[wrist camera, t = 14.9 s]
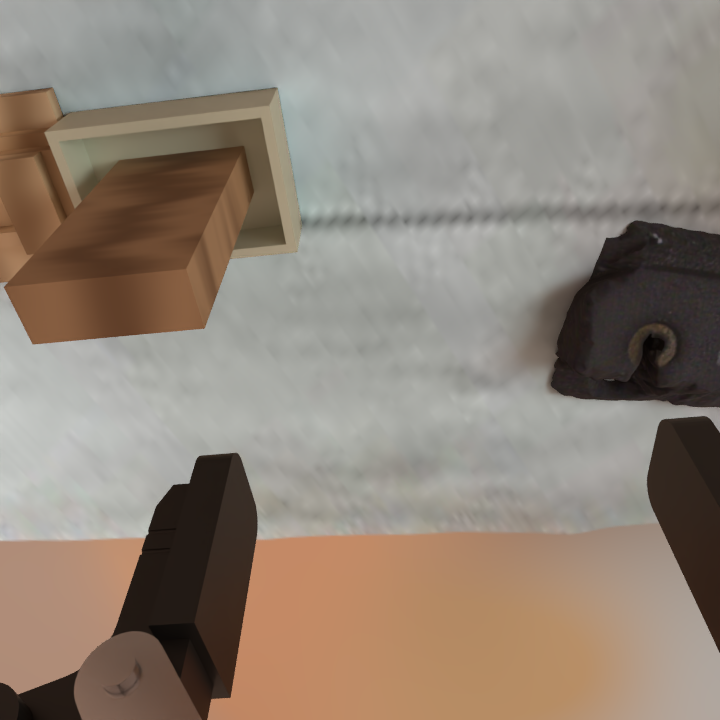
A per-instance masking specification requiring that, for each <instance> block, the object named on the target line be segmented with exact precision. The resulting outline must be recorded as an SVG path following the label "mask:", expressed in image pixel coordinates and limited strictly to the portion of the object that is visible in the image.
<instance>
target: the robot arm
mask: <svg viewBox="0 0 720 720" xmlns="http://www.w3.org/2000/svg"><path fill="white" fill-rule="evenodd" d="M647 488H648V495H649V499H650V503H651V506H652V508H653V511H654V513H655V515H656V517H657V519H658V521H659V524H660V526H661V528H662V530H663V532H664V534H665V536H666V539H667V541H668V543H669V545H670V547H671V549H672V551H673V553H674V556H675V558H676V560H677V562H678V564H679V566H680V569H681V571H682V573H683V575H684V577H685V579H686V581H687V584H688V586H689V588H690V590H691V592H692V594H693V596H694V598H695V601H696V603H697V605H698V607H699V609H700V611H701V614H702V616H703V618H704V620H705V622H706V624H707V626H708V629H709V631H710V633H711V635H712V637H713V639H714V641H715V644H716V646H717V648H718V650H719V652H720V433H719V431H718V430H717V428H716V427H715V425H714V424H713V422H712V421H711V420H710V419H709V418H708V417H705V416H700V417H687V418H675V419H664V420H662V421H661V422H660V423H659V426H658V429H657V434H656V439H655V443H654V448H653V452H652V457H651V462H650V466H649V471H648V476H647ZM148 531H149V534H148V535H147V536H146V539H145V542H144V545H143V548H142V555H140V557H139V560H138V563H137V566H136V569H135V572H134V575H133V578H132V581H131V584H130V587H129V590H128V593H127V596H126V599H125V602H124V605H123V608H122V611H121V614H120V617H119V620H118V623H117V626H116V628H115V630H114V633H113V635H112V637H111V638H110V639H108V640H106V641H105V642H103V643H102V644H101V645H99V646H98V647H97V648H96V649H95V650H94V651H93V652H92V653H91V654H90V655H89V656H88V657H87V659H86V660H85V661H84V663H83V664H82V666H81V668H80V669H79V670H78V671H76V672H74V673H72V674H70V675H68V676H66V677H63V678H61V679H58V680H56V681H53V682H50V683H48V684H45V685H42V686H40V687H37V688H35V689H32V690H29V691H26V692H24V693H21V694H19V695H17V694H16V692H15V691H14V690H13V689H12V688H11V687H9V686H8V685H6V684H3V683H0V720H207V718H208V712H209V707H210V702H211V699H216V698H230V697H231V691H232V685H233V679H234V672H235V666H236V659H237V654H238V648H239V641H240V636H241V629H242V623H243V617H244V611H245V605H246V599H247V593H248V586H249V580H250V574H251V568H252V562H253V556H254V550H255V544H256V537H257V510H256V505H255V501H254V498H253V495H252V492H251V489H250V486H249V482H248V479H247V476H246V473H245V470H244V467H243V463H242V460H241V458H240V456H239V454H238V453H229V454H216V455H204V456H199V457H198V458H197V460H196V463H195V466H194V469H193V473H192V476H191V479H190V483H189V484H178V485H173V486H172V487H171V489H170V490H169V491H168V492H167V494H166V495H165V496H164V497H163V499H162V500H161V501H160V502H159V504H158V505H157V506H156V508H155V511H154V514H153V517H152V520H151V524H150V527H149V530H148Z"/></svg>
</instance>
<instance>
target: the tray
mask: <svg viewBox="0 0 720 720" xmlns="http://www.w3.org/2000/svg"><path fill="white" fill-rule="evenodd" d="M44 133H45V136H46V138H47V141H48V143H49V146H50V148H51V151H52V153H53V156H54V158H55V161H56V163H57V166H58V168H59V171H60V173H61V176H62V178H63V181H64V183H65V186H66V188H67V191H68V193H69V196H70V198H71V201H72V203H73V206H74V208H76V207H77V206H78V205H79V204H80V203H81V202H82V201H83V199H84V198H85V197H86V196H87V195H88V194H89V193H90V192H91V191H92V190H93V188H94V187H95V186H96V185H97V184H98V183H99V182H100V181H101V180H102V179H103V177H104V176H105V175H106V174H107V173H108V172H109V171H110V170H111V169H112V168H113V166H114V165H115V164H116V163H117V162H118V161H119V160H124V159H133V158H142V157H150V156H159V155H168V154H177V153H186V152H195V151H204V150H212V149H221V148H230V147H239V146H244V148H245V153H246V157H247V162H248V166H249V171H250V176H251V180H252V185H253V189H254V194H253V197H252V199H251V202H250V205H249V208H248V210H247V213H246V216H245V219H244V221H243V224H242V227H241V230H240V232H239V235H238V238H237V241H236V243H235V246H234V249H233V252H232V254H231V257H230V259H234V258H244V257H253V256H263V255H273V254H283V253H293V252H297V251H298V245H299V240H300V234H301V229H302V222H301V216H300V211H299V205H298V200H297V194H296V189H295V183H294V177H293V172H292V166H291V161H290V155H289V149H288V144H287V138H286V133H285V127H284V122H283V116H282V110H281V105H280V99H279V94H278V88H270V89H261V90H253V91H245V92H236V93H228V94H220V95H211V96H203V97H195V98H186V99H178V100H170V101H161V102H153V103H145V104H136V105H128V106H119V107H111V108H103V109H94V110H86V111H78V112H70V113H69V114H67V115H66V116H65V117H63V118H62V119H61V120H60V121H58V122H57V123H56V124H54V125H53V126H52V127H50V128H49V129H48V130H46V131H45V132H44Z"/></svg>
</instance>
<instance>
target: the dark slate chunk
mask: <svg viewBox="0 0 720 720" xmlns="http://www.w3.org/2000/svg"><path fill="white" fill-rule="evenodd" d="M557 345H558V350H559V351H558V352H557V353H556V355H557V356H558V357H559V358H558V360H557V361H556V363H555V365H554V367H555V368H556V372H555V373H554V375H553V381H552V382H551V386H552V387H553V388H554V389H555V390H557V391H558V392H559V393H561V394H562V395H564V396H573V397H576V398H580V399H597V400H638V401H644V400H660V401H666V400H667V401H669V402H670V403H671V404H674V405H687V406H693V407H720V235H718V234H709V233H706V232H701V231H692V230H686V229H682V228H674V227H670V226H667V225H663V224H658V223H647V222H643V221H634V222H633V223H632V224H630V225H629V227H628V228H627V233H626V234H624V235H621V236H620V237H616V238H606V240H605V243H604V246H603V248H602V251H601V254H600V256H599V258H598V260H597V262H596V265H595V268H594V271H593V273H592V276H591V278H590V280H589V282H588V283H586V284H585V285H584V287H583V288H582V289H581V290H580V291H578V293H577V294H576V295H575V297H574V299H573V301H572V304H571V306H570V308H569V310H568V312H567V317H566V320H565V322H564V325H563V328H562V330H561V332H560V335H559V338H558V342H557ZM604 379H614V380H615V381H607V380H604Z"/></svg>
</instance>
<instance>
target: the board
mask: <svg viewBox="0 0 720 720" xmlns="http://www.w3.org/2000/svg"><path fill="white" fill-rule="evenodd" d="M253 194H254V189H253V185H252V180H251V176H250V171H249V166H248V162H247V157H246V153H245V148H244V146H239V147H230V148H221V149H212V150H204V151H195V152H186V153H177V154H168V155H159V156H150V157H142V158H133V159H124V160H119V161H118V162H117V163H116V164H115V165H114V166H113V168H112V169H111V170H110V171H109V172H108V173H107V174H106V175H105V176H104V177H103V179H102V180H101V181H100V182H99V183H98V184H97V185H96V186H95V187H94V188H93V190H92V191H91V192H90V193H89V194H88V195H87V196H86V197H85V198H84V199H83V201H82V202H81V203H80V204H79V205H78V206H77V207H76V208H75V209H74V211H73V212H72V213H71V214H70V215H69V216H68V217H67V218H66V219H65V220H64V222H63V223H62V224H61V225H60V226H59V227H58V228H57V229H56V230H55V231H54V233H53V234H52V235H51V236H50V237H49V238H48V239H47V240H46V241H45V242H44V244H43V245H42V246H41V247H40V248H39V249H38V250H37V251H36V252H35V253H34V255H33V256H32V257H31V258H30V259H29V260H28V261H27V262H26V263H25V264H24V266H23V267H22V268H21V269H20V270H19V271H18V272H17V273H16V274H15V276H14V277H13V278H12V279H11V280H10V281H9V282H8V283H7V284H6V285H5V287H4V288H5V290H6V292H7V294H8V296H9V298H10V300H11V302H12V304H13V306H14V308H15V310H16V312H17V314H18V316H19V318H20V320H21V322H22V324H23V326H24V328H25V330H26V332H27V334H28V336H29V338H30V340H31V342H32V344H43V343H53V342H64V341H75V340H86V339H96V338H107V337H118V336H129V335H139V334H150V333H161V332H172V331H182V330H193V329H204V328H205V326H206V323H207V320H208V318H209V315H210V312H211V309H212V307H213V304H214V301H215V298H216V296H217V293H218V290H219V287H220V285H221V282H222V279H223V276H224V274H225V271H226V268H227V265H228V263H229V260H230V257H231V254H232V252H233V249H234V246H235V243H236V241H237V238H238V235H239V232H240V230H241V227H242V224H243V221H244V219H245V216H246V213H247V210H248V208H249V205H250V202H251V199H252V197H253Z"/></svg>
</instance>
